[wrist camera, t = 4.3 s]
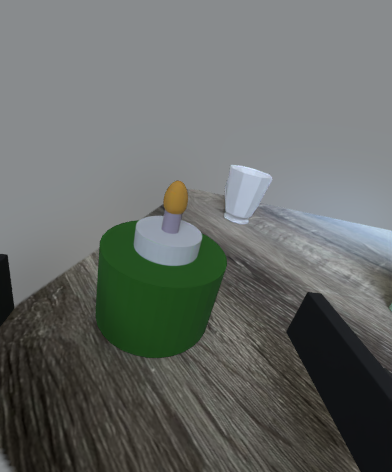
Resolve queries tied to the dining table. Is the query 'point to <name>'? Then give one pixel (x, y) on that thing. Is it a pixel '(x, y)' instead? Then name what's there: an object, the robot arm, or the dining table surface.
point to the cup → (244, 192)
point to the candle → (157, 281)
